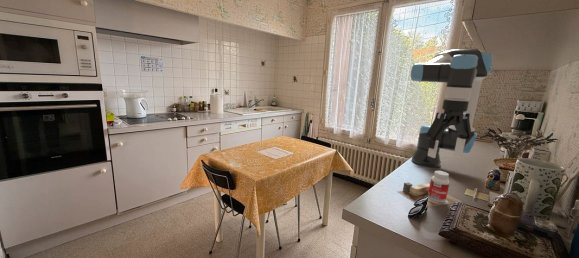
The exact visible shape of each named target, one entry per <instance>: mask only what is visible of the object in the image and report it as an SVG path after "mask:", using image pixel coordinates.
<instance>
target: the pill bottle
mask: <svg viewBox="0 0 579 258" xmlns="http://www.w3.org/2000/svg"><path fill="white" fill-rule="evenodd" d="M433 173H434V175H433V176H431V177H430V181H429V182H430V186H429V191H428V197H429V198H430V199H431V200H433V201H436V202H445V201H446V197H447V194H448V192H449V188H450V180H449V177H450V174H449V173H448V172H446V171H442V170H435V171H434V172H433Z"/></svg>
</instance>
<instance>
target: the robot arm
mask: <svg viewBox="0 0 579 258" xmlns="http://www.w3.org/2000/svg"><path fill="white" fill-rule="evenodd" d="M478 49H479V48H461V49H460V48H459V49H458V48H457V49H449V50H445V51H442V52H440V53H437V54H435V56H433V57H432V58H431V60H429V61H427V62H419V63H413V65H412V67H411V71H410V79H411V81H413V82H419V83H420V82H424V83H428V82H429V83H445V84H446V86H445V87H446V88H445V91H444V92H445V93H444V98H445V99H443V101H442V107H441V108H442V110H444V111H443V112H436V114H435V117H434V120H433V121H432V123H431V124H424V125H421V126H420V130H419V134H418V139H417V146H416V149H415V151H414V153H413V154H412V156H411V162H412V163H414V164H417V165H419V166H422V167H423V166H424V167H428V168H429V167H430V168H439V167H441V163H442V162H441V156H440V151H441V150H446V151H447V150H448V151H452V152H453V154H454V155H456V156H457V155H458V156H460V157H462V156H463V154H469V153H471V151H472V149H473V147H474V145H475V143H476V139H477V137H478V133H477V132H475V131H476V130H475V127H473V124H474V123H473V122H474V119H475V118H474V117H475V114H476V109H477V106H478V105H477V104H478V100H479V96H480V91H481V86H482V81H483V80H484V79H486V78H487V77H488V74H491V73H493V72H492V71H493V54H494V52H493V53H484V52H480V51H479V50H478Z"/></svg>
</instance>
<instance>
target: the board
mask: <svg viewBox="0 0 579 258" xmlns="http://www.w3.org/2000/svg"><path fill="white" fill-rule="evenodd" d="M411 186H413V184H412V183H410V182H404V183H403V188H402V189H403V190H400V191H399V190H398V191H396V192H397V193H398V194H400V195H402V196H403V197H405V198H406V199H408V200H410V201H411V202H413V203H415V202H416V201H417V200H419V199H421V198H425V197H428V193H427V194H423V195H418V196H413V195H411V194H409V192H410V187H411ZM428 198H429V197H428ZM455 202H459V203H463V201H462V200H459V199H458V198H455V197H454V196H451V195H450V194H448V193H447V197H446V201H445V202H436V201H433V200H431V199H430V198H429V199H428V202H427V206H426V208H425V209H427V208H432V207H441V206H444V205H446V206H447V205H451V204H456V203H455ZM415 204H416V203H415Z"/></svg>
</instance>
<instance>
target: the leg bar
mask: <svg viewBox="0 0 579 258" xmlns="http://www.w3.org/2000/svg"><path fill="white" fill-rule="evenodd" d="M429 186H430V181H429V182H428V183H422V184H416V185H412V186H411V187H410V192H409V194H411V195H413V196H418V195H423V194H427V193H428V191H429Z"/></svg>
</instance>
